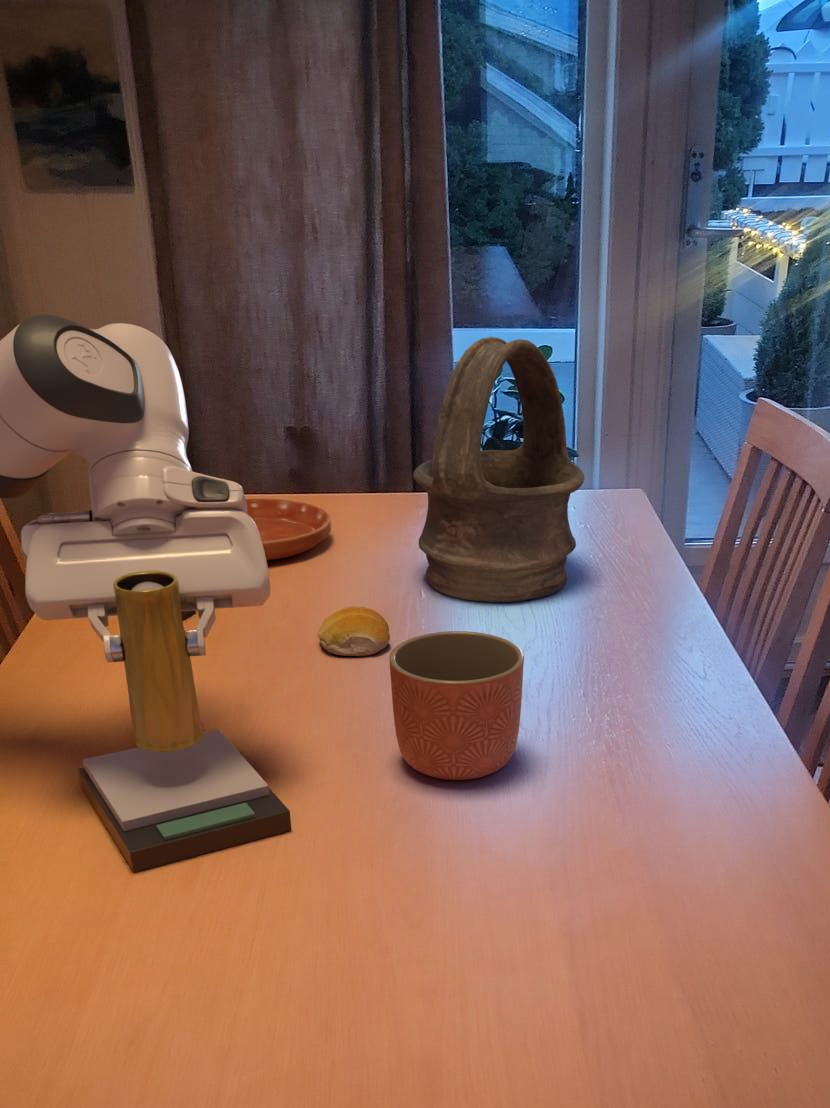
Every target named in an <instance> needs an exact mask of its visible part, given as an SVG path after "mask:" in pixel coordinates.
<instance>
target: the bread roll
mask: <svg viewBox="0 0 830 1108" xmlns="http://www.w3.org/2000/svg"><path fill="white" fill-rule="evenodd" d="M389 631H390V627H389V625H388V622H387V621H386V619H385V618H384V617H383V616H382V614H380V613H379V612H377V611H376V610H374V609H373V608H372V609H371V608H368V607H366V606H365V607H364V606H348V607H345V608H341V609H339V610H337V611H335V612H333V613H332V614H331V615H329V616H328V617H326V618H325V619H324V620H323V622H322V623H321V625H320V627H319V630H318V635H317V636H318V640H319V643H320V645H321V647H322V648H323V649H324V650H325V651H326V652H329V653H331V654H333V655H338V656H344V657H365V656H366V657H367V656H370V655H371V656H372V655H374V654H377V653H379V652H380V651H382V650H384V648H386V647H387V645H388V643H389V641H390V640H391V635H390V632H389Z"/></svg>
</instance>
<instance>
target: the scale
mask: <svg viewBox="0 0 830 1108" xmlns="http://www.w3.org/2000/svg"><path fill="white" fill-rule="evenodd" d="M82 763H83V766H82V767H78V768H77V771H78V772H77V773H78V778H79V782H80V787H81V789H82V791H83V793H84V794H85V796H86V797H87V799H88V801H89V803H90V804H91V806H92V807H93V809H94V811H95V813H96V814H97V815H98V817H99V818H100V819H99V820H101V822H102V823H103V825H104V827H105V828H106V830H107V832H108V833H109V835H110V837H111V838H112V840H113V841H114V844H115V845H116V847H117V848H118V850H119V851H120V853H121V855H122V857H123V859H125V861H126V863H127V864H128V866H129V868H130V870H131V871H132V872H133V873H138V872H141V871H146V870H148V869H153V868H156V867H161V866H163V865H167V864H168V865H169V864H171V863H175V862H176V863H177V862H178V861H183V860H186V859H190V858H194V857H197V856H202V855H206V854H210V853H213V852H216V851H221V850H224V849H228V848H232V847H235V846H239V845H243V844H246V843H250V842H254V841H258V840H262V839H265V838H269V837H272V836H277V835H280V834H284V833H287V832H288V833H289V832H292V820H291V810H289V808H288V807H287V806H286V805H285V804H284V802H283V801H281V799H280V798H279V797H278V796H277V795H276V793H275V792H274V791H273V790H272V789H271V787H269V784H268V783H267V781H265V780H264V779H263V778H262V776H261V775H260V774H259V773H258V772H257V771H256V769H254V767H253V766H252V765H251V764H250V763H249V761H248V760H247V759H246V758H245V756H243V755H242V754H241V752H240V751H239V750H238V749H237V747H235V746H234V744H233V743H232V742H231V741H230V740H229V739H228V738H227V736H226V735H224V733H223V732H222V731H221V730H220V729H214V730H209V731H204V734H203V737H202V738H201V739H200V740H199V741H198V742H197V743H195V744H193V745H192V746H189V747H187V748H184V749H180V750H175V751H167V752H156V751H149V750H145V749H143V748H140V747H139V746H137V747H134V748H129V749H124V750H119V751H116V752H111V753H106V754H102V755H101V754H100V755H98V756H93V757H88V758H84V759H82Z"/></svg>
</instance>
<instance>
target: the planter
mask: <svg viewBox="0 0 830 1108" xmlns="http://www.w3.org/2000/svg"><path fill="white" fill-rule="evenodd" d="M388 660H389V672H390V673H389V674H390V687H391V700H392V712H393V722H394V730H395V735H396V741H397V745H398V749H399V750H400V751H399V752H400V754H401V757H402V758H403V759H404V761H405V762H406V763H407V764H408V765H409V766H410V767H411V768H413V769H414V770H415V771H417V772H419V773H421V774H423V775H426V776H429V777H432V778H435V779H440V780H449V781H466V780H475V779H478V778H482V777H486V776H489V775H491V774H493V773H496V772H497V771H499V770H500V769H501V768H503V767H504V766H506V765H507V763H508V762H509V761H510V760H511V759H512V758H513V755H514V753H515V750H516V747H517V743H518V739H519V733H520V725H521V724H520V723H521V714H522V713H521V712H522V699H523V697H522V696H523V685H524V684H523V683H524V682H523V681H524V664H525V657H524V652H523V651H522V650H521V648H520V647H519V646H517V644H515V643H513V642H511V640H508V639H505V638H503V637H500V636H497V635H494V634H490V633H485V632H476V631H464V630H463V631H462V630H452V631H438V632H431V633H425V634H420V635H418V636H414V637H411V638H408V639H406V640H404V641H402V642H400V643H399V644H397V645H396V646H395V647H394V648H393V649H392V651H391V652H390V655H389V659H388Z"/></svg>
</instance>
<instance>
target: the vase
mask: <svg viewBox="0 0 830 1108" xmlns="http://www.w3.org/2000/svg"><path fill="white" fill-rule="evenodd" d="M142 582H154V583H157V584H160V585H162V586H164V587H163V588H159V589H155V590H148V591H131V590H132V588H134V587H135V586H136V585H138V584H140V583H142ZM113 587H114V592H115V598H116V605H117V613H118V615H117V619H118V626H119V633H120V634H119V635H121V640H122V649H123V655H124V659H125V661H123V663H124V672H125V678H126V685H127V692H128V702H129V710H130V717H131V718H130V719H131V725H132V740H133V743H134V744H135V745H136V746H137V747H140V748H143V749H145V750H149V751H156V752H167V751H175V750H180V749H184V748H187V747H189V746H192V745H193V744H195V743H197V742H198V741H199V740H200V739H201V738H202V737H203V734H204V732H205V731H204V726H203V723H202V721H201V718H200V716H201V715H200V710H199V703H198V697H197V691H196V685H195V679H194V671H193V666H192V659H191V656H188V651H187V640H186V630H185V627H184V620H183V619H182V613H181V607H180V599H179V584H178V579H177V577H176V576H175V575H173V574H171V573H168V572H163V571H143V572H134V573H130V574H126V575H123V576H121V577H119V578H117V579H116V580H115V581H114V584H113Z"/></svg>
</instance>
